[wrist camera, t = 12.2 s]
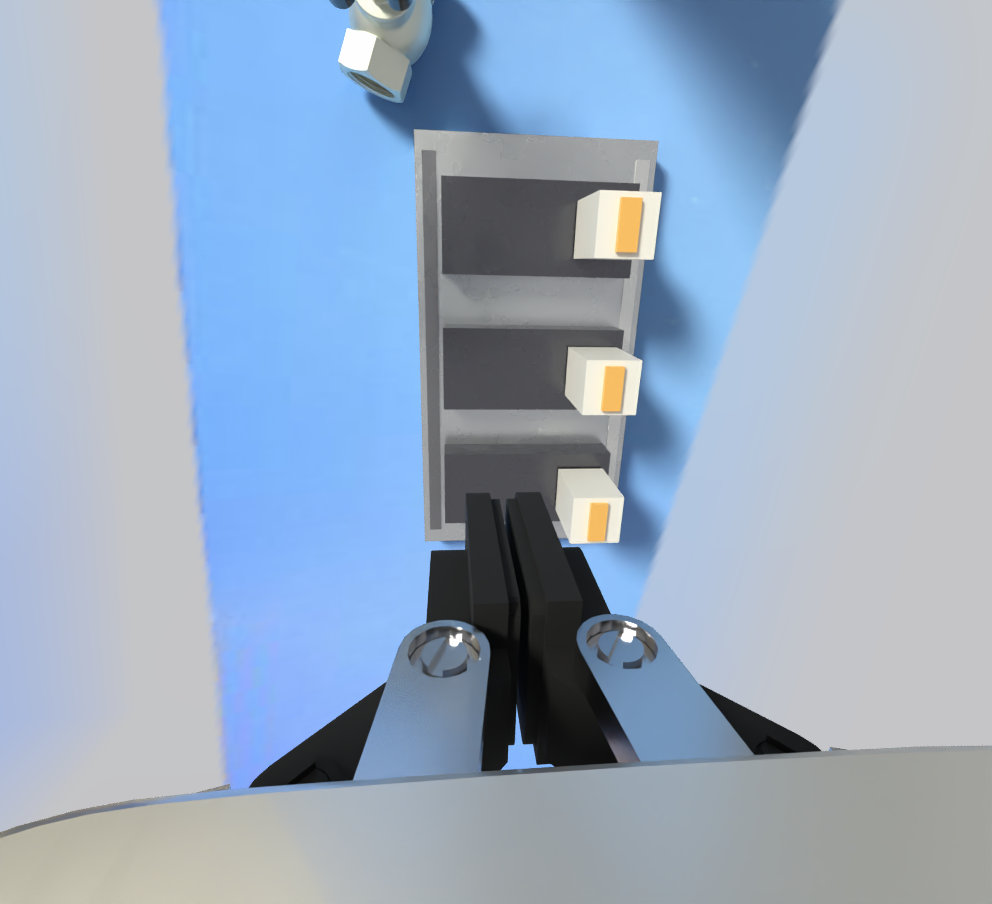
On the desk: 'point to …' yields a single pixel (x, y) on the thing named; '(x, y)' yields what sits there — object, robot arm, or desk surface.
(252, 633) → the desk surface
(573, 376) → the handle mid
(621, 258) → the handle
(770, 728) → the robot arm
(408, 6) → the valve
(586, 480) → the handle
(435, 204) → the panel
